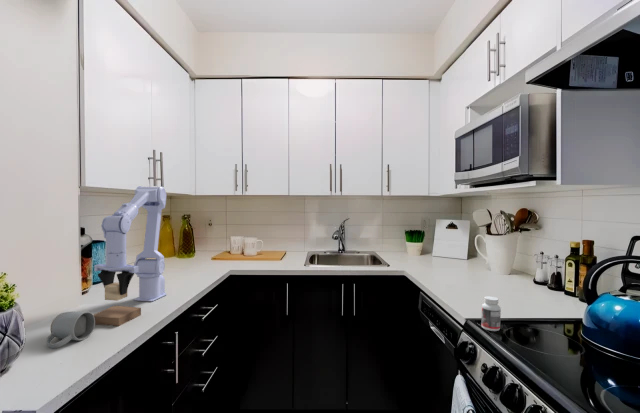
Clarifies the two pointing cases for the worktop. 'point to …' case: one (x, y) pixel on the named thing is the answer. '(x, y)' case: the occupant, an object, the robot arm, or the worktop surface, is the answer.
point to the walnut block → (116, 315)
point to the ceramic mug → (71, 327)
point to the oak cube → (113, 292)
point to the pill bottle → (491, 314)
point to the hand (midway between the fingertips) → (116, 293)
